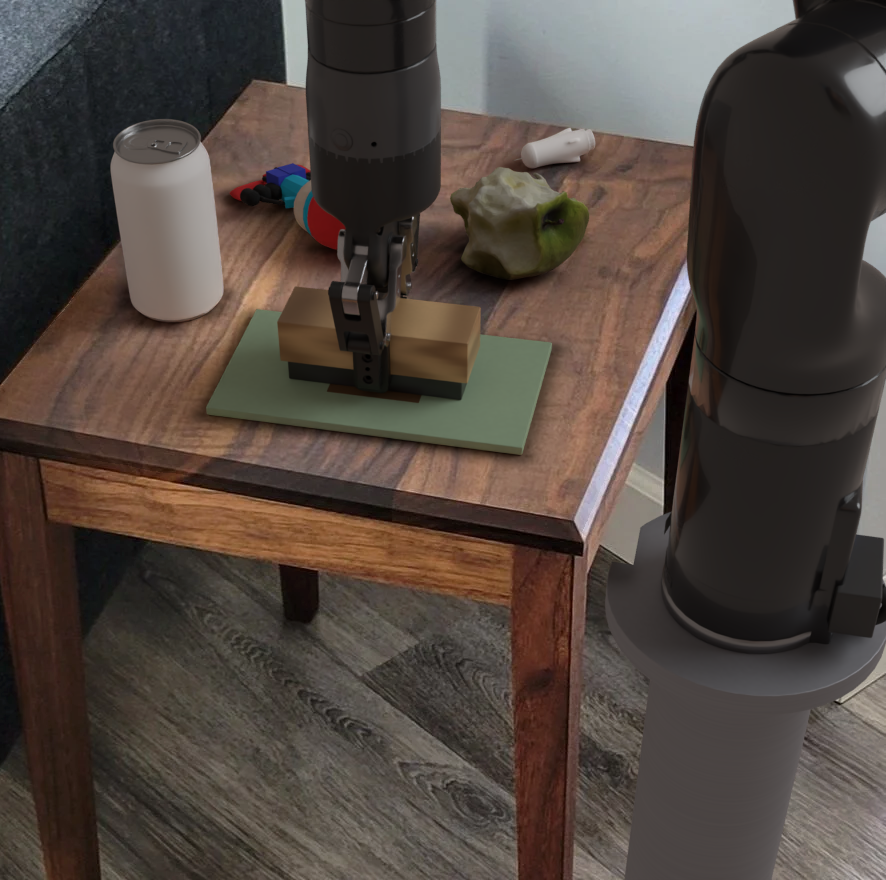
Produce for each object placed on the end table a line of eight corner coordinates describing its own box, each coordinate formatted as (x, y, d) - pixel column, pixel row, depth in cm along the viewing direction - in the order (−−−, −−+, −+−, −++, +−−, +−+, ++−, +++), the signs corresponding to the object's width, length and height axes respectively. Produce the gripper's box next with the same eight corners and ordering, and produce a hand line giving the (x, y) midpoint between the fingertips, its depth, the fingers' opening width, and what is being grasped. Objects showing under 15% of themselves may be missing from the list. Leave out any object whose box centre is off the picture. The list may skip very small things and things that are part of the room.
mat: (551, 349, 106) (552, 341, 105) (522, 455, 98) (522, 447, 98) (256, 316, 110) (256, 308, 110) (206, 414, 103) (205, 406, 102)
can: (154, 266, 115) (131, 110, 107) (238, 279, 114) (222, 122, 105) (115, 317, 111) (89, 158, 103) (203, 331, 109) (183, 171, 101)
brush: (479, 365, 104) (481, 306, 101) (467, 403, 101) (467, 344, 98) (298, 343, 107) (294, 285, 104) (281, 380, 104) (276, 321, 101)
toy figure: (223, 219, 122) (330, 276, 111) (215, 154, 120) (325, 207, 109) (308, 194, 126) (421, 248, 115) (303, 131, 123) (418, 180, 112)
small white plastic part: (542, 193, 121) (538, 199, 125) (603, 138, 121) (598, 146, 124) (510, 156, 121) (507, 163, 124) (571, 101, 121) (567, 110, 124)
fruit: (594, 303, 112) (593, 215, 105) (458, 315, 113) (448, 229, 106) (584, 210, 117) (582, 121, 111) (454, 223, 118) (444, 135, 112)
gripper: (410, 191, 86) (414, 444, 98) (465, 66, 96) (462, 310, 108) (274, 178, 88) (293, 428, 100) (341, 57, 98) (352, 297, 109)
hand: (381, 365), depth 104 cm, fingers closed on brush, 4 cm apart
